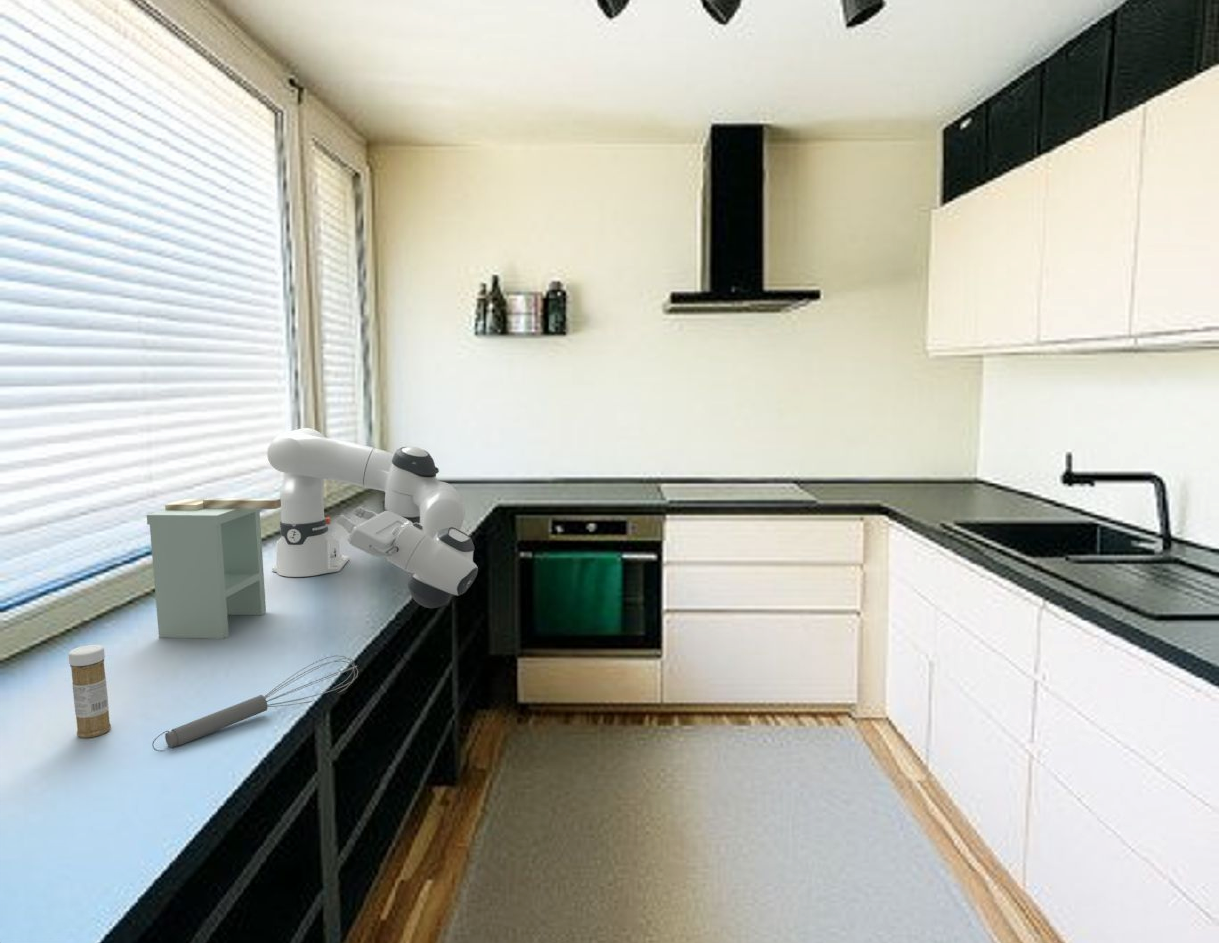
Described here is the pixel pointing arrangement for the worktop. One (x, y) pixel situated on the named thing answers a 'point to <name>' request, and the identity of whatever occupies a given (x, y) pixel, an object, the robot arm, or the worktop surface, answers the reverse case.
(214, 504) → the turner
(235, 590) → the shelf
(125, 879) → the worktop surface
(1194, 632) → the worktop surface
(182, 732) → the kitchen whisk
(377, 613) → the worktop surface
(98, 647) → the sprinkles bottle
